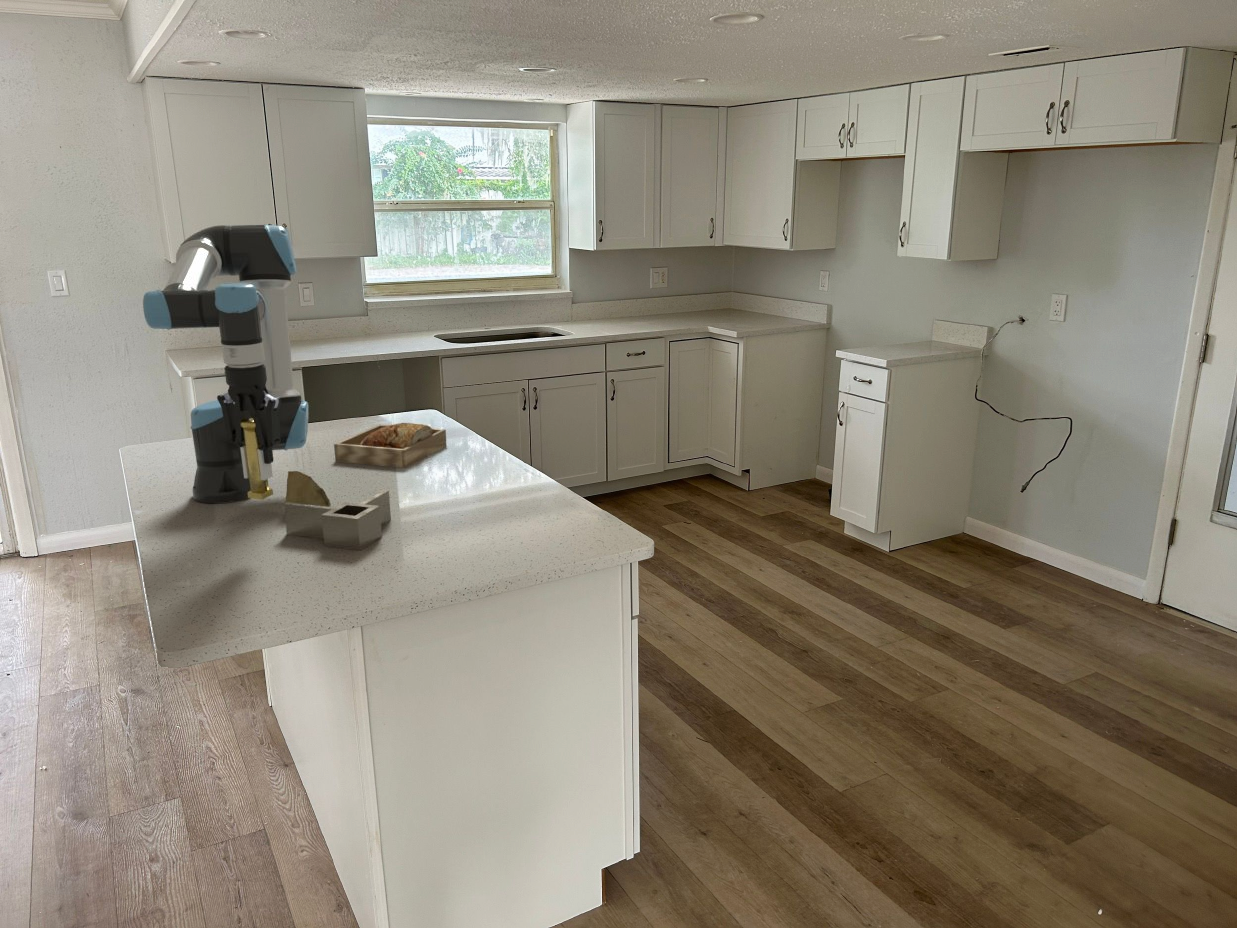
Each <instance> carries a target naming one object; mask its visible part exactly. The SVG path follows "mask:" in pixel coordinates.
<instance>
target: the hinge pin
mask: <svg viewBox="0 0 1237 928" xmlns="http://www.w3.org/2000/svg"><path fill="white" fill-rule="evenodd" d="M240 424H241V427H242V428H243V431H244V439H245V447H246V454H247V462H248V470H249V478H250V486H251V491H249V492H248V498H247V499H255V500H264V499H267V498H268V497H271V496H272V495H274V492H273V491H274V490H273V488H270V487H269V480H268V479H269V478H268V479H266V480H261V475H260V467H259V459H258V450H257V449H258V448H259V447H261V446H260V443H259V439H258V435H257V432H256V426H255V423H254V420H253V418H250V419H247V420H244V421H242V422H240Z"/></svg>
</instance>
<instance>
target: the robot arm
mask: <svg viewBox="0 0 1237 928" xmlns="http://www.w3.org/2000/svg"><path fill="white" fill-rule="evenodd" d="M175 262H176V264H175V267H174V269H173V271H172V273H171V274H170V276H169V278H168V280H167V282H166V284H165V285H164V286H165V287H164V288H163V290H160V289H157V290H151V291H147V292H145V293H144V294H143V297H142V298H143V299H142V309H143V310H142V311H143V316H144V319H145V321H146V324H147V325H148V327H149V328H151V329H155V330H160V329H161V330H169V331H170V330H179V329H180V330H182V329H200V328H201V329H202V328H203V329H204V328H206V329H207V328H209V329H211V328H219V334H220V343H221V351H222V352H221V353H222V358H223V363H224V364H225V366H224V376H225V377H224V378H225V382H226V385H227V386H228V389H227V392H225V393H221V394H219V395H217V397H216V398H217V399H215V400H211V401H208V402H204V403H202V404H199V405H197V406H195V407H194V408H192V410H191V411H190V429H191V432H192V439H193V441H192V442H193V447H194V453H195V460H196V470H195V471H196V472H195V475H194V481H193V486H192V497H193V500H195V501H196V502H200V503H202V504H204V503H205V504H223V503H224V504H225V503H232V502H238V501H242V500H246V499H249V498H248V492H249V491H251V486H250V478H249V470H248V462H247V454H246V447H245V439H244V431H243V428H242V427H241V424H240V422H242V421H244V420H247V419H250V418H253V420H254V423H255V426H256V432H257V435H258V439H259V443H260V446H261V447H259V448H258V449H257V450H258V459H259V467H260V475H261V480H266V479H270V478H272V477H274V475H273V466H272V463H274V461H275V460H274V452H273V451H288V450H296V449H300V448H303V447H304V446H305V445H306V442H307V437H308V428H309V402H308V401H305V400H303V399H302V394H301V393H300V392H299V391H298V390H297V389H296V388H295V386H294V375H293V374H294V373H293V364H292V363H293V362H292V353H291V342H290V341H291V339H290V329H289V320H288V307H287V298H286V289H287V288H288V286H290V284H292V278H291V276H294V275H296V274H297V273H298V272H297V271H298V270H297V266H296V265H297V263H296V259H295V255H294V250H293V247H292V243H291V239H290V236H289V233H288V230H287V229H286V228H285V227H284V226H281V225H272V224H271V225H270V224H247V225H246V224H245V225H242V224H241V225H240V224H239V225H213V226H209V227H206V228H204V229H201V230H199V231H197V232H195V233H193V234H192V235H190V236H188V237H187V238H186V239H185V240H183V242H182V243H181V244H180V246H179V247H178V249H177V251H176V255H175ZM217 276H234V277H235V276H238V278H239V282H235V283H233V282H232V283H224V284H219V285H217V286H216V287H215V288H214V289H208V288H209V287H210V283H211V281H212V280H213V279H214V278H216V277H217Z"/></svg>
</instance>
